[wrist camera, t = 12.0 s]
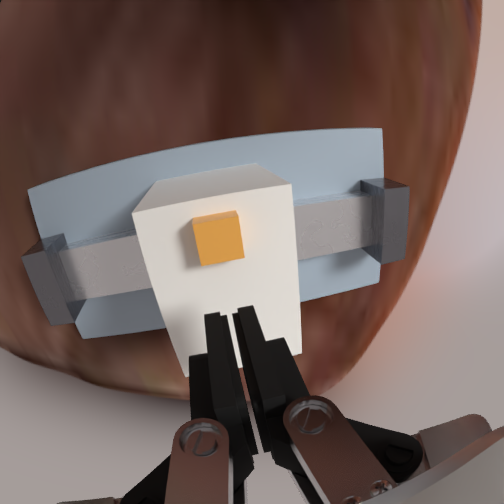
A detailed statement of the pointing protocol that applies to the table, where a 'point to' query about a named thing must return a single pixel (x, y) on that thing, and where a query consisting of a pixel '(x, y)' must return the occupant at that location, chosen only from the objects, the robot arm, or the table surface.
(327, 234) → the rail
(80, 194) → the board
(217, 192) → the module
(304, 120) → the table surface
